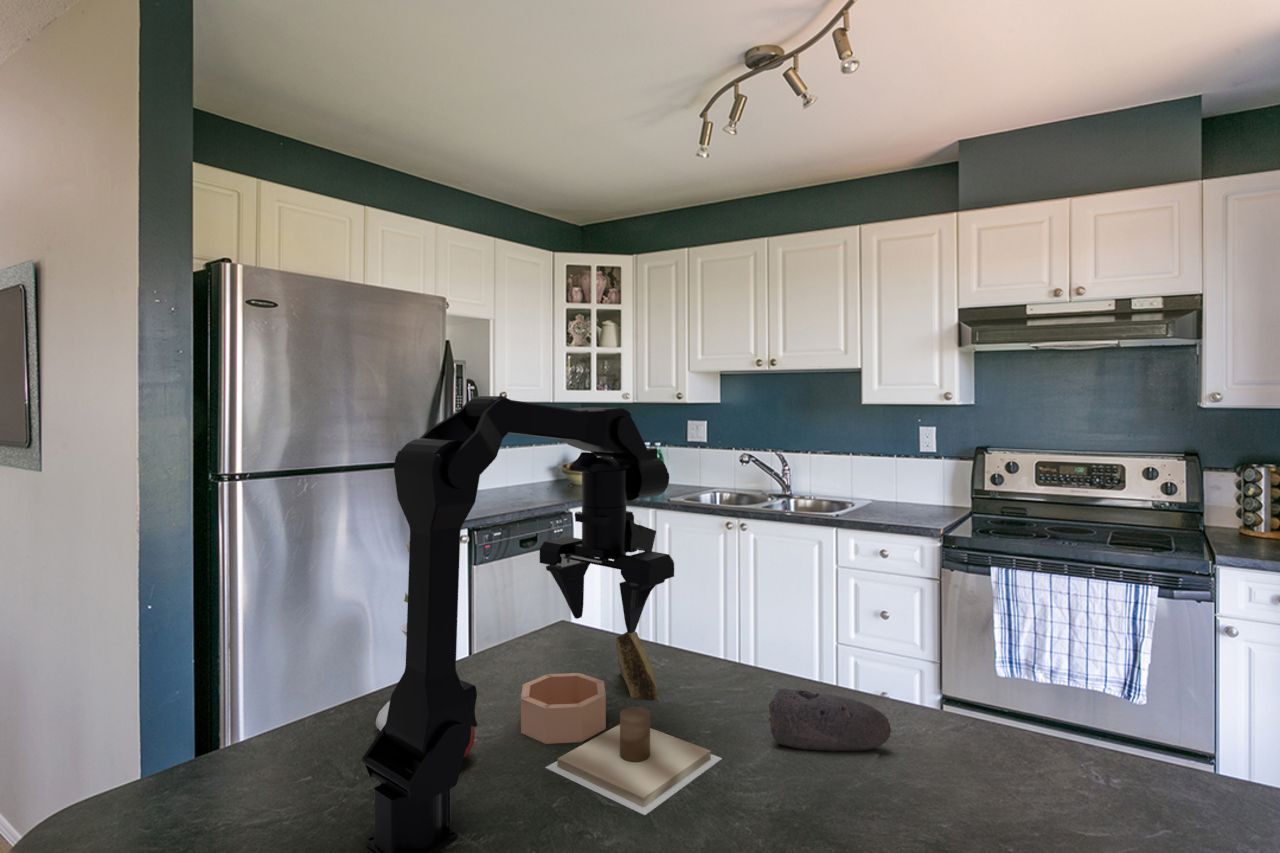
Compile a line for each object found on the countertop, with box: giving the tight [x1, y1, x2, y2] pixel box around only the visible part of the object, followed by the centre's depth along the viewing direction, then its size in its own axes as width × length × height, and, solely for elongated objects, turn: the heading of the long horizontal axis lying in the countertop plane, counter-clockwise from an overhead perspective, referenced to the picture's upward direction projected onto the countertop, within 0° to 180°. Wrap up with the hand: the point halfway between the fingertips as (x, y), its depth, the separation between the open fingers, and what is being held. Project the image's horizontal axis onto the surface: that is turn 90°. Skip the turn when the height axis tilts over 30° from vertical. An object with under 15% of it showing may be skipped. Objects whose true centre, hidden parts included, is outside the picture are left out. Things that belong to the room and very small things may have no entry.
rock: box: [615, 631, 660, 701], centre depth 107 cm, size 11×9×10 cm
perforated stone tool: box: [768, 688, 892, 752], centre depth 89 cm, size 15×5×7 cm, turn 80°
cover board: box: [557, 706, 712, 807], centre depth 84 cm, size 13×13×6 cm
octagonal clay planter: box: [520, 672, 607, 745], centre depth 94 cm, size 11×11×5 cm
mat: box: [544, 753, 723, 816], centre depth 84 cm, size 15×15×1 cm
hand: (604, 624), depth 91 cm, fingers open, 9 cm apart
